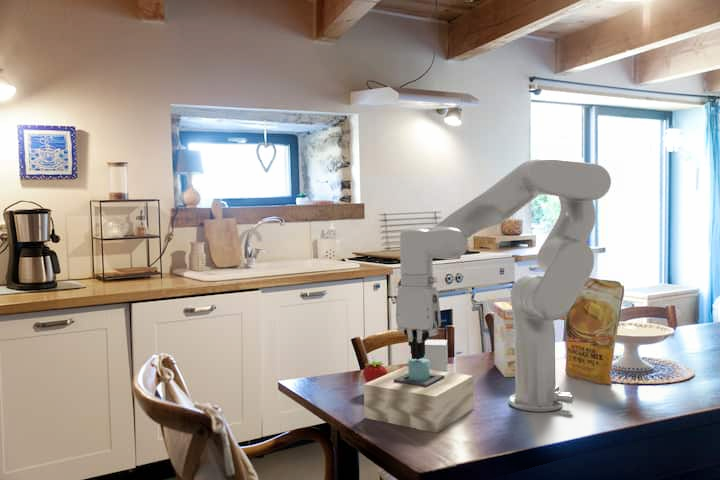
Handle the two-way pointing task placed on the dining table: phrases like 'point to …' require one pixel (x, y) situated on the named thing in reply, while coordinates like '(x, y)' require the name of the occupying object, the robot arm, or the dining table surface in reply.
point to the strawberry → (374, 371)
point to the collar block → (419, 399)
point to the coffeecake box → (504, 338)
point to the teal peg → (419, 369)
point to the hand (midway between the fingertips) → (418, 358)
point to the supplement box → (437, 354)
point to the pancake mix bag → (593, 330)
